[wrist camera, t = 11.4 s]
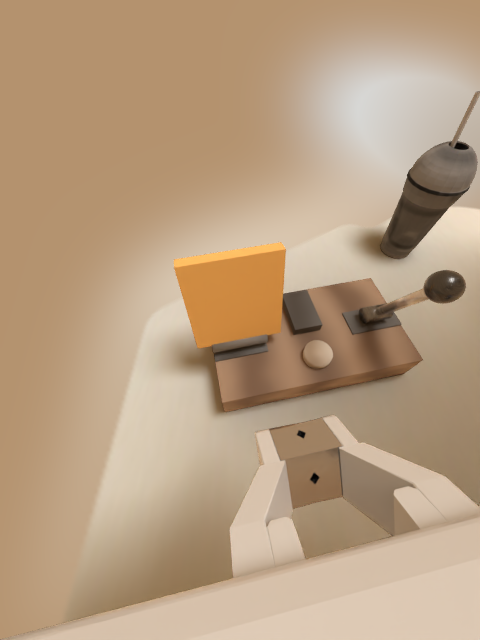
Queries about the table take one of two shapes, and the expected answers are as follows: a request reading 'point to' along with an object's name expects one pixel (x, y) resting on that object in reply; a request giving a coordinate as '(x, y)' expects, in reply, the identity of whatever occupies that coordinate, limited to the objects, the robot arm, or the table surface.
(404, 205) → the beverage cup
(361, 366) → the control panel
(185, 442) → the table surface
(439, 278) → the steel toggle lever
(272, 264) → the orange paddle
